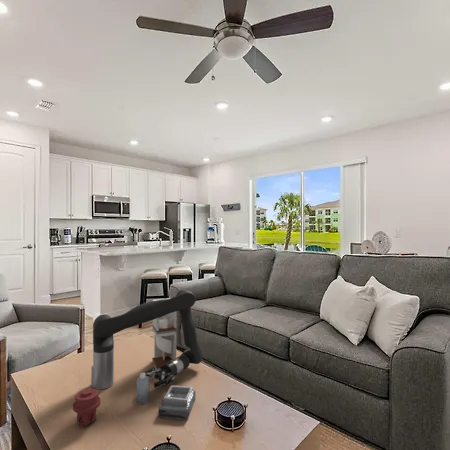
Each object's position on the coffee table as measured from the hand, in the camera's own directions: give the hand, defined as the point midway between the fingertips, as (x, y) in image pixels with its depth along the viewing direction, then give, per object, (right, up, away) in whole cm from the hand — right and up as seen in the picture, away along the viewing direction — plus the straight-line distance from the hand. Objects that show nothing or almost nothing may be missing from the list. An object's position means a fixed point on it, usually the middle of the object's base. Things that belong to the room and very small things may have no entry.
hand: (147, 382), depth 138 cm
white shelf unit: (+1, -6, +32) cm, 33 cm away
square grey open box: (+15, -7, -8) cm, 18 cm away
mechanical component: (-20, -7, -17) cm, 27 cm away
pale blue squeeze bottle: (-2, -7, -3) cm, 7 cm away
